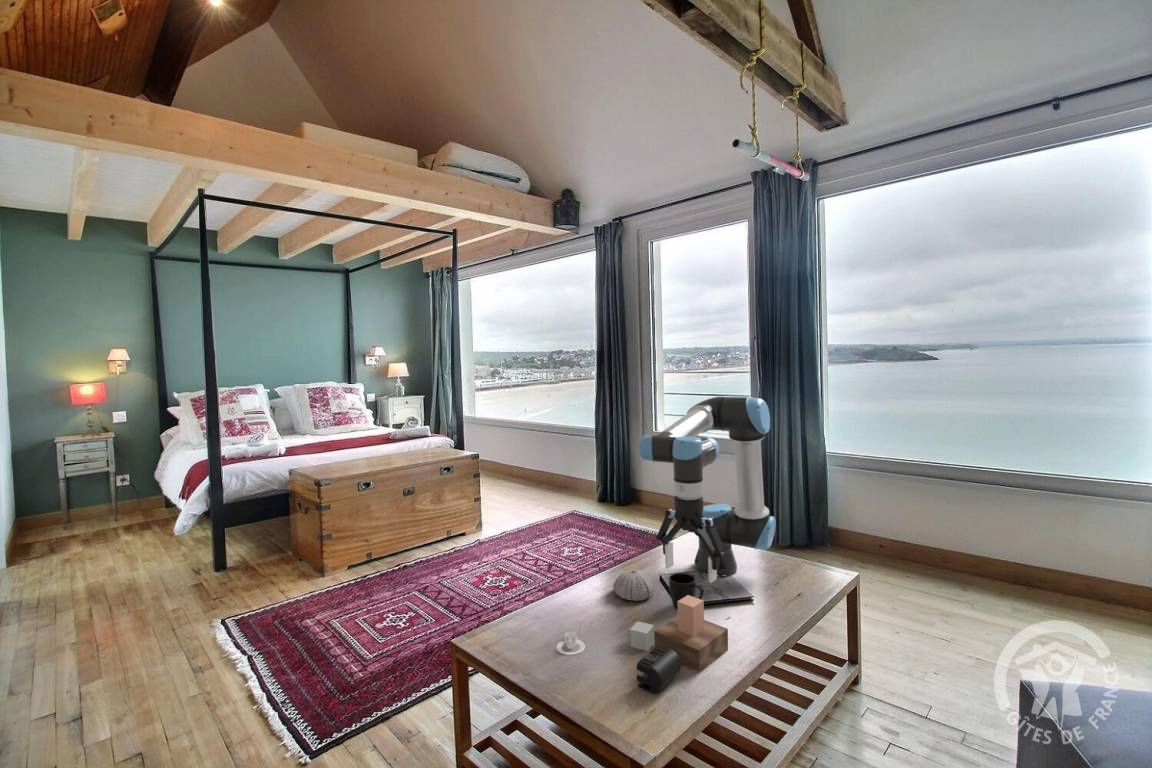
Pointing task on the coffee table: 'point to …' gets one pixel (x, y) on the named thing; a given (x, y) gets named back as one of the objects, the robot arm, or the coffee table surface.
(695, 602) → the terracotta block
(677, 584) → the mug
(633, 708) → the coffee table surface
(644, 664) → the end cap
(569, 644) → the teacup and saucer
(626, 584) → the sea urchin shell
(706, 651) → the walnut block
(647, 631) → the grey cube
